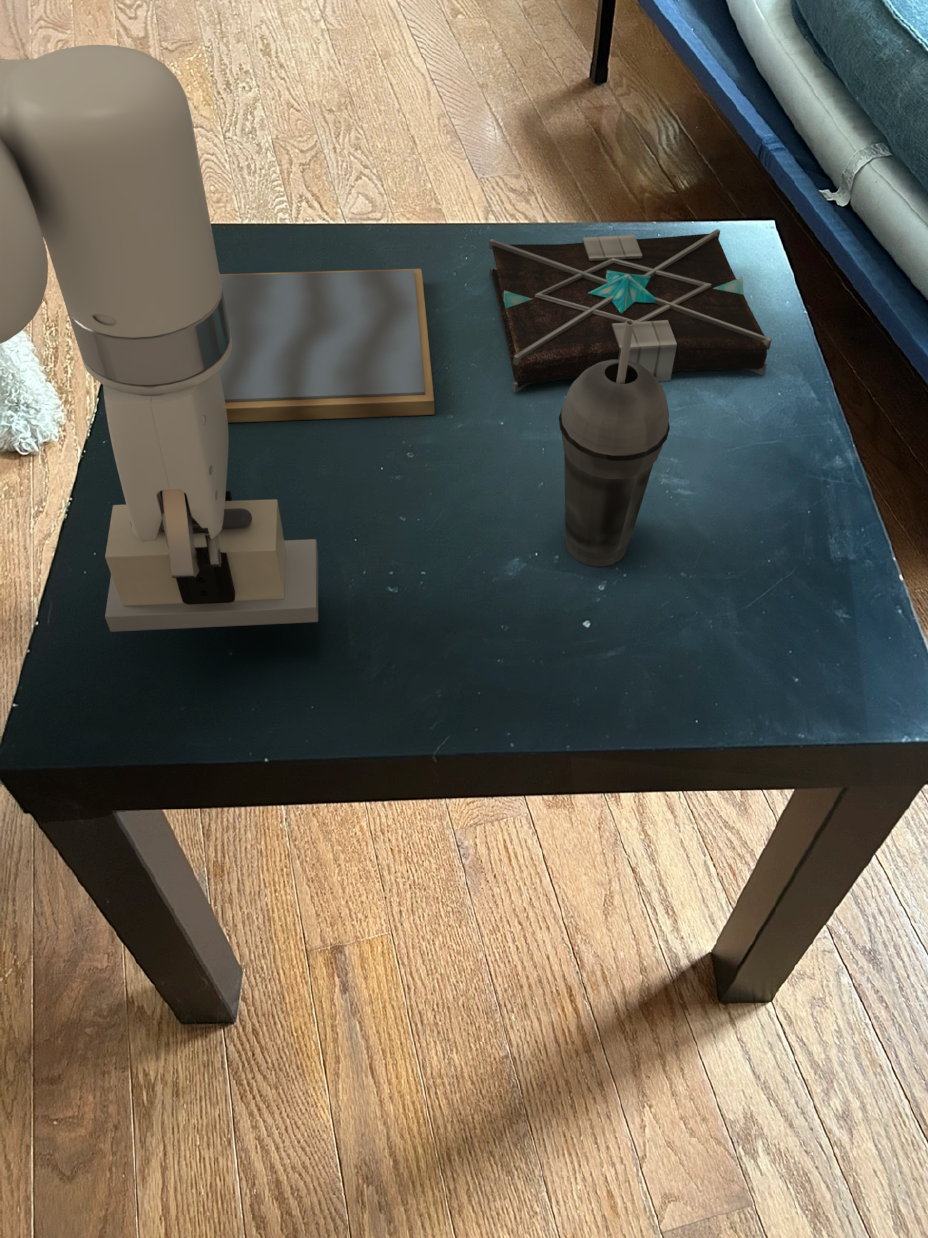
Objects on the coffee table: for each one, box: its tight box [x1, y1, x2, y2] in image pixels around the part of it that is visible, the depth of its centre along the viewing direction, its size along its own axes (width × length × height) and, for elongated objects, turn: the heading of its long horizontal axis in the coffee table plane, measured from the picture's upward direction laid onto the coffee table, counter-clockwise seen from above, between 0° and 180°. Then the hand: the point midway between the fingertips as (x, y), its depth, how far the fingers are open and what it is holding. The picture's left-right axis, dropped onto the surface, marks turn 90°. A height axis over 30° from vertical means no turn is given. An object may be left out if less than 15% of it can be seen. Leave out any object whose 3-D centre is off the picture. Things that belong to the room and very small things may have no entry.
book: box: [488, 228, 773, 394], centre depth 95 cm, size 22×17×5 cm
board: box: [219, 268, 436, 424], centre depth 93 cm, size 20×18×2 cm
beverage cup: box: [558, 320, 671, 568], centre depth 73 cm, size 7×7×20 cm
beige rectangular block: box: [104, 498, 319, 633], centre depth 69 cm, size 13×6×7 cm, turn 96°
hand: (211, 567), depth 70 cm, fingers closed on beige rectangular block, 4 cm apart
